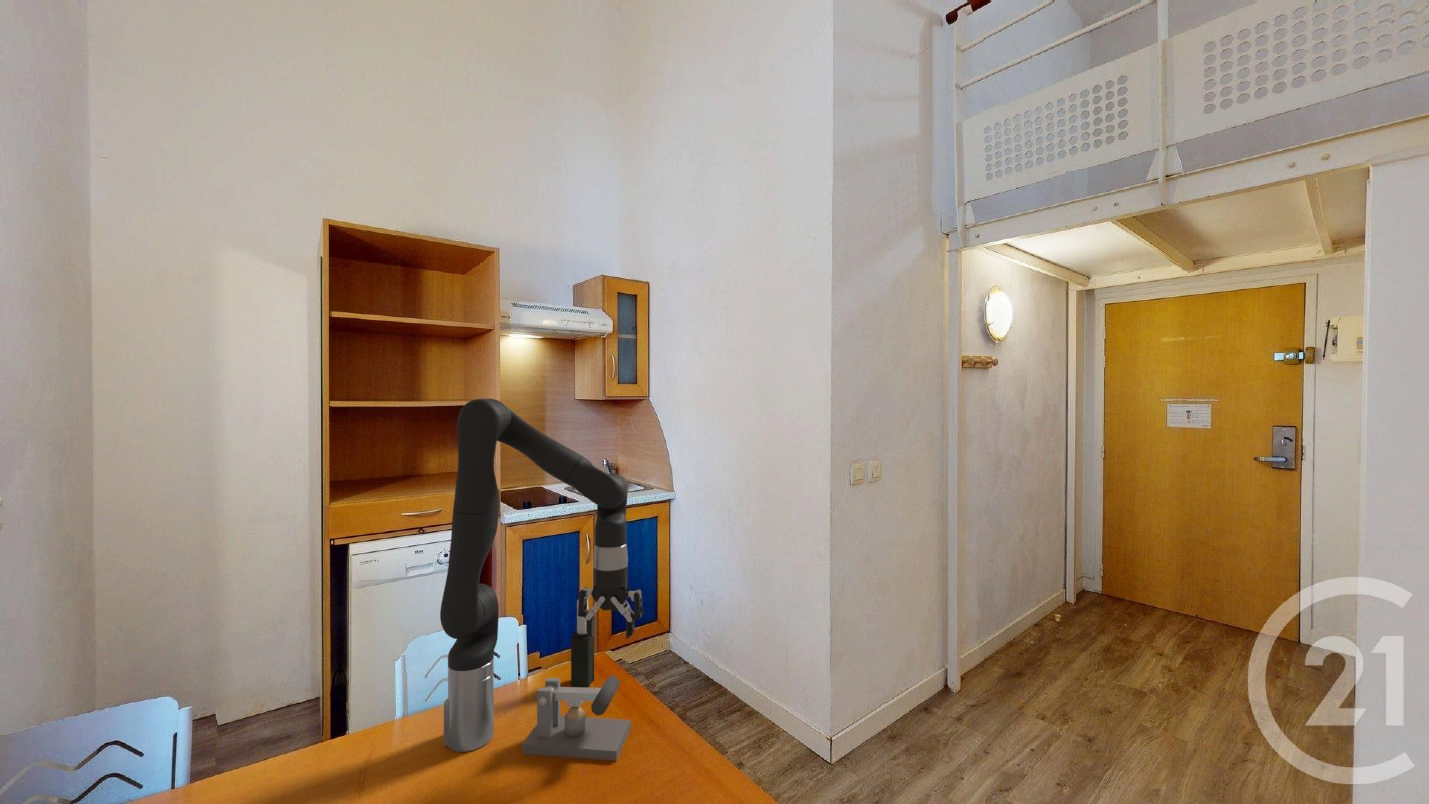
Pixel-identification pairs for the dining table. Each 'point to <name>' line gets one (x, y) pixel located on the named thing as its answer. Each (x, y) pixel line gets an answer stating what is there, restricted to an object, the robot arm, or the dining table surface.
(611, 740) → the base
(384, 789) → the dining table surface
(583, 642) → the black and grey rod
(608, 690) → the lever
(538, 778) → the dining table surface
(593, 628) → the robot arm
